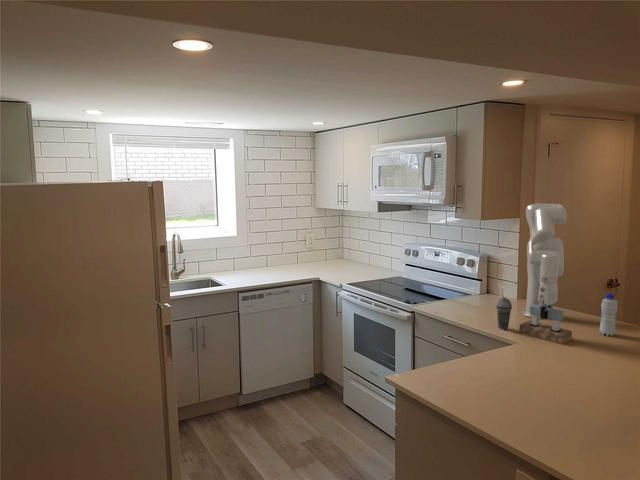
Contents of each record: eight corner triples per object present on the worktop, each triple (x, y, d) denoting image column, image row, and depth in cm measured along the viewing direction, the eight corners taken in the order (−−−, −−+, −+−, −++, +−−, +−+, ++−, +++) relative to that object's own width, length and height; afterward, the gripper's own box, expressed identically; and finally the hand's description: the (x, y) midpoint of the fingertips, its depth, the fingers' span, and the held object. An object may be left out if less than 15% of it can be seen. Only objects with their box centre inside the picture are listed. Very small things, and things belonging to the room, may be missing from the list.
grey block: (562, 329, 220) (563, 311, 218) (558, 331, 218) (559, 312, 216) (532, 322, 231) (533, 304, 229) (529, 323, 228) (530, 305, 227)
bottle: (599, 335, 224) (602, 294, 221) (598, 331, 230) (601, 291, 227) (615, 337, 221) (619, 296, 218) (614, 333, 227) (618, 292, 224)
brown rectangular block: (519, 332, 229) (519, 324, 229) (529, 327, 235) (530, 320, 235) (561, 344, 214) (561, 335, 213) (571, 339, 220) (571, 330, 219)
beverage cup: (508, 332, 230) (510, 292, 227) (493, 329, 234) (495, 290, 231) (512, 328, 236) (514, 289, 232) (497, 325, 240) (499, 286, 237)
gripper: (547, 284, 212) (545, 323, 215) (564, 278, 222) (562, 315, 225) (531, 281, 218) (529, 319, 221) (549, 275, 228) (546, 312, 231)
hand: (545, 317), depth 223 cm, fingers closed on grey block, 3 cm apart
